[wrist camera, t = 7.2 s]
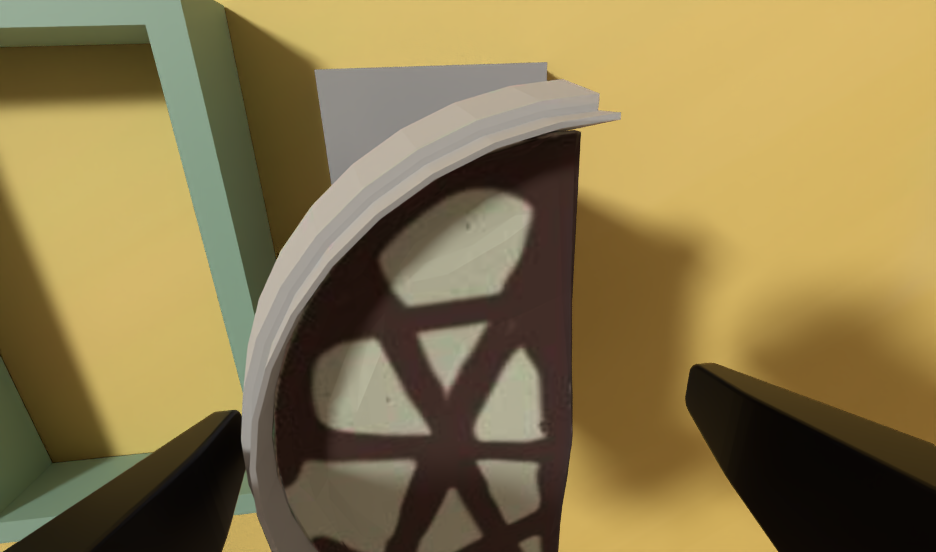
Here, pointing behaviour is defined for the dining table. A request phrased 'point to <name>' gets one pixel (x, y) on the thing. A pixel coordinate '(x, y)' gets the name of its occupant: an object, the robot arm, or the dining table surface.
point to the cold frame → (213, 196)
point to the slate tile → (399, 100)
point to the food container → (426, 339)
